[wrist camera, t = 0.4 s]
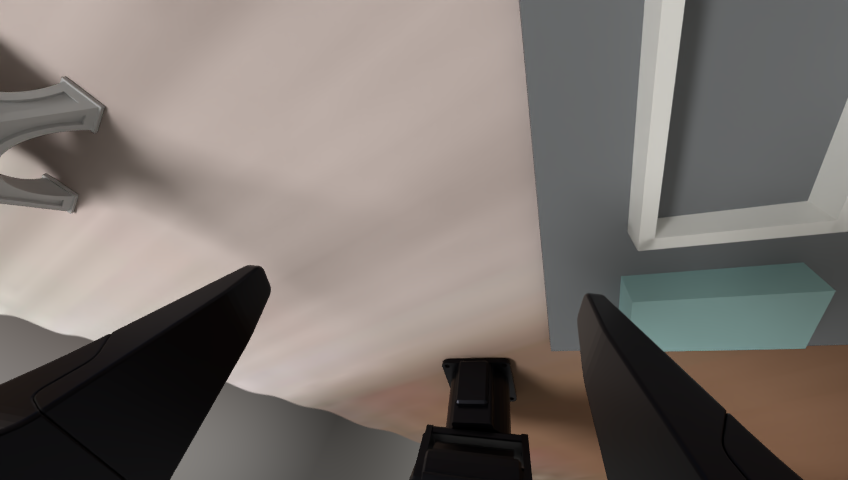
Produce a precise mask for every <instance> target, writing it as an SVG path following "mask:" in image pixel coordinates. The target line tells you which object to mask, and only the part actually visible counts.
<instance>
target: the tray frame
mask: <svg viewBox="0 0 848 480" xmlns="http://www.w3.org/2000/svg"><path fill="white" fill-rule="evenodd" d="M684 7H685V0H645V3H644V17H643V30H642V44H641V57H640V70H639V84H638V97H637V111H636V124H635V138H634V151H633V165H632V178H631V192H630V205H629V218H628V234H629V236H630V238H631V239H632V241H633V243H634V245H635V247H636V249H637V250H638V251H645V250H655V249H666V248H677V247H688V246H698V245H709V244H720V243H731V242H741V241H752V240H763V239H773V238H784V237H795V236H806V235H816V234H827V233H838V232H848V99H847V102H846V104H845V107H844V109H843V112H842V114H841V117H840V119H839V122H838V125H837V127H836V130H835V132H834V135H833V137H832V140H831V142H830V145H829V148H828V150H827V153H826V155H825V158H824V160H823V163H822V165H821V168H820V171H819V173H818V176H817V178H816V181H815V183H814V186H813V188H812V191H811V193H810V196H809V199H808V201H802V202H793V203H785V204H776V205H767V206H759V207H750V208H742V209H733V210H724V211H716V212H707V213H698V214H690V215H681V216H672V217H664V218H658V210H659V202H660V194H661V187H662V179H663V171H664V163H665V155H666V147H667V140H668V132H669V124H670V116H671V108H672V100H673V93H674V85H675V77H676V69H677V61H678V53H679V46H680V38H681V30H682V22H683V14H684Z"/></svg>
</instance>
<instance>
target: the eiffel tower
mask: <svg viewBox="0 0 848 480" xmlns="http://www.w3.org/2000/svg"><path fill="white" fill-rule="evenodd" d="M104 108H105V106H104V105H102V104H101V103H100V102H98V101H97V100H96V99H94V98H93V97H92V96H90V95H89V94H88V93H87V92H85V91H84V90H83V89H81V88H80V87H79V86H77V85H76V84H75V83H73V82H72V81H71V80H69V79H68V78H67V77H66V76H65V77H61V82H60V83H58V84H56V85H53V86H49V87H46V88H42V89H37V90H31V91H22V92H0V157H1V155H2V154H3V153H4V152H6V151H7V150H8V149H10V148H11V147H13V146H15V145H17V144H19V143H21V142H23V141H26V140H29V139H31V138H35V137H38V136H42V135H46V134H51V133H57V132H64V131H75V130H90V131H91V132H93V133H97V132H98V128H99V125H100V121H101V118H102V115H103V111H104ZM78 196H79V195H78V194H76V193H75V192H73V191H72V190H70V189H69V188H67V187H66V186H64V185H63V184H61V183H60V182H58V181H57V180H55V179H54V178H52V177H51V176H49V175H48V174H46V173H45V174H43V175H42V178H40V179H20V178H14V177H9V176H5V175H2V174H0V204H9V205H18V206H26V207H35V208H44V209H52V210H61V211H67V212H69V213H70V214H71V213H73V212H74V209H75V206H76V202H77V199H78Z"/></svg>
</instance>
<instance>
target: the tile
mask: <svg viewBox="0 0 848 480" xmlns="http://www.w3.org/2000/svg"><path fill="white" fill-rule="evenodd" d="M834 293H835V290H834V289H833V288H832V287H831V286H830V285H829V284H827V283H826V282H825V281H824V280H823V279H822V278H821V277H819V276H818V275H817V274H816V273H815V272H814V271H813V270H811V269H810V268H809V267H808V266H807V265H806V264H805V263H803V262H802V263H789V264H775V265H762V266H749V267H736V268H723V269H709V270H696V271H683V272H670V273H657V274H644V275H630V276H621V284H620V298H619V310H620V311H621V312H622V313H623V314H625V315H626V316H627V317H628V318H629V319H630V320H631V321H632V322H633V323H634V324H635V325H636V326H637V327H638V328H639V329H640V330H642V331H643V332H644V333H645V334H646V335H647V336H648V337H649V338H650V339H651V340H652V341H653V342H654V343H655V344H656V345H657V346H658V347H660V348H661V349H662V350H663V351H710V350H761V349H805V348H806V346H807V345H808V343H809V341H810V339H811V337H812V335H813V333H814V331H815V329H816V327H817V326H818V324H819V322H820V320H821V318H822V316H823V314H824V312H825V310H826V308H827V307H828V305H829V303H830V301H831V299H832V297H833V295H834Z"/></svg>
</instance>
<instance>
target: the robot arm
mask: <svg viewBox="0 0 848 480" xmlns="http://www.w3.org/2000/svg"><path fill="white" fill-rule="evenodd" d="M270 292H271V287H270V284H269V281H268V279H267V276H266V274H265V271H264V269H263V268H262V267H261V266H254V265H247V266H245V267H243V268H241V269H239V270H237V271H235V272H233V273H231V274H228V275H226V276H224V277H222V278H220V279H218V280H216V281H214V282H212V283H210V284H208V285H206V286H204V287H202V288H200V289H198V290H196V291H194V292H192V293H190V294H188V295H186V296H184V297H182V298H180V299H178V300H176V301H174V302H172V303H170V304H168V305H166V306H164V307H162V308H160V309H158V310H156V311H154V312H152V313H150V314H148V315H146V316H144V317H142V318H140V319H138V320H136V321H134V322H132V323H130V324H128V325H126V326H124V327H122V328H120V329H118V330H116V331H114V332H112V334H108V335H106V336H104V337H102V338H100V339H98V340H96V341H94V342H92V343H90V344H88V345H86V346H83V347H81V348H79V349H77V350H75V351H73V352H71V353H69V354H67V355H65V356H63V357H60V358H58V359H56V360H54V361H52V362H50V363H47V364H45V365H43V366H41V367H39V368H36V369H34V370H32V371H30V372H27V373H25V374H23V375H21V376H18V377H16V378H14V379H12V380H10V381H7V382H5V383H3V384H0V480H170V479H171V476H172V475H173V473H174V472H175V470H176V468H177V466H178V464H179V463H180V461H181V459H182V458H183V456H184V454H185V452H186V451H187V449H188V447H189V445H190V443H191V442H192V440H193V438H194V437H195V435H196V433H197V431H198V430H199V428H200V426H201V424H202V423H203V421H204V419H205V417H206V416H207V414H208V412H209V410H210V409H211V407H212V405H213V403H214V402H215V400H216V398H217V396H218V395H219V393H220V391H221V389H222V388H223V386H224V384H225V382H226V381H227V379H228V377H229V375H230V374H231V372H232V370H233V368H234V367H235V365H236V363H237V361H238V360H239V358H240V356H241V354H242V353H243V351H244V349H245V347H246V346H247V344H248V342H249V340H250V338H251V336H252V334H253V332H254V330H255V327H256V325H257V323H258V321H259V318H260V316H261V314H262V312H263V309H264V307H265V305H266V303H267V300H268V298H269V296H270ZM577 327H578V335H579V344H580V352H581V361H582V370H583V377H584V383H585V387H586V392H587V396H588V400H589V404H590V408H591V413H592V417H593V421H594V425H595V429H596V433H597V437H598V441H599V446H600V450H601V454H602V458H603V462H604V466H605V470H606V475H607V479H608V480H803V479H802V478H801V477H800V476H798V475H797V474H796V473H795V472H794V471H793V470H791V469H790V468H789V467H788V466H787V465H786V464H784V463H783V462H782V461H781V460H780V459H779V458H777V457H776V456H775V455H774V454H773V453H772V452H771V451H770V450H769V449H768V448H766V447H765V446H764V445H763V444H762V443H761V442H760V441H759V440H758V439H757V438H755V437H754V436H753V435H752V434H751V433H750V432H749V431H748V430H747V429H746V428H745V427H744V426H742V425H741V424H740V423H739V422H738V421H737V420H736V419H735V418H734V417H733V416H732V415H731V414H729V413H727V414H726V410H725V409H724V408H723V407H722V406H721V405H720V404H719V403H718V402H717V401H716V400H715V399H714V398H713V397H712V396H710V395H709V394H708V393H707V392H706V391H705V390H704V389H703V388H702V387H701V386H700V385H699V384H698V383H697V382H696V381H695V380H693V379H692V378H691V377H690V376H689V375H688V374H687V373H686V372H685V371H684V370H683V369H682V368H681V367H680V366H679V365H678V364H677V363H675V362H674V361H673V360H672V359H671V358H670V357H669V356H668V355H667V354H666V353H665V352H664V351H663V350H662V349H661V348H660V347H658V346H657V345H656V344H655V343H654V342H653V341H652V340H651V339H650V338H649V337H648V336H647V335H646V334H645V333H644V332H643V331H642V330H640V329H639V328H638V327H637V326H636V325H635V324H634V323H633V322H632V321H631V320H630V319H629V318H628V317H627V316H626V315H625V314H623V313H622V312H621V311H620V310H619V309H618V308H617V307H616V306H615V305H614V304H613V303H612V302H611V301H610V300H609V299H608V298H606V297H605V296H604V295H602V294H594V293H587V294H585V295H584V297H583V300H582V303H581V306H580V310H579V313H578V317H577ZM442 367H443V369H444V372H445V375H446V378H447V380H448V383H449V386H450V388H451V389H450V397H449V406H448V415H447V423H446V427H436V426H433V425H427V427H426V431H425V433H424V434H423V437H422V441H421V445H420V449H419V453H418V457H417V460H416V464H415V466H414V469H413V471H412V474H411V476H410V479H409V480H532V472H531V461H530V451H529V441H528V434H521V435H517V434H511V421H510V401H516V391H515V386H514V381H513V376H512V371H511V366H510V361H509V360H508V359H450V360H444V361H443V363H442Z"/></svg>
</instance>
